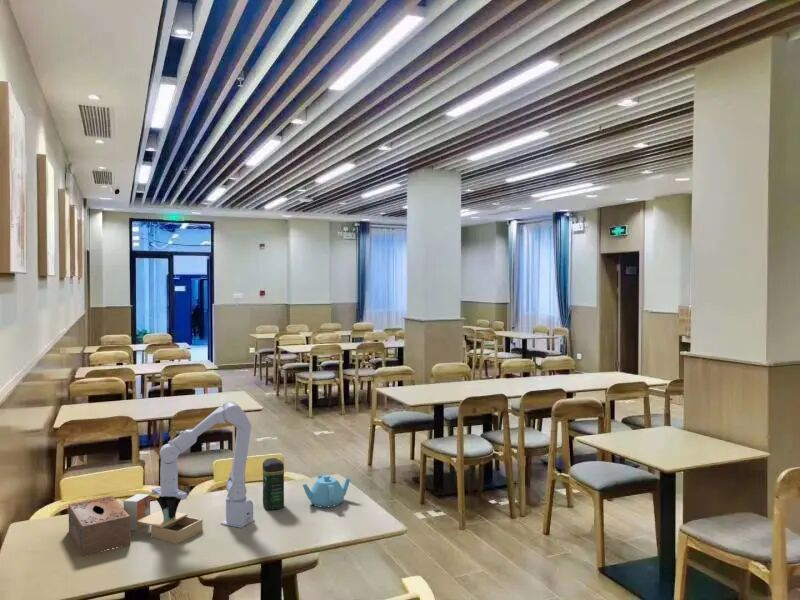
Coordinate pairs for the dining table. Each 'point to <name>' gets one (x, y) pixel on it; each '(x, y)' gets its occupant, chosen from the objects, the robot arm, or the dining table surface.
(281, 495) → the coffee jar
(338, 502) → the teapot
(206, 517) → the dining table surface
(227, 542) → the dining table surface
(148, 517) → the tan flat square block
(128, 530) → the tissue box cover
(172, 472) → the robot arm
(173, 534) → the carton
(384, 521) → the dining table surface
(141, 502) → the small box
